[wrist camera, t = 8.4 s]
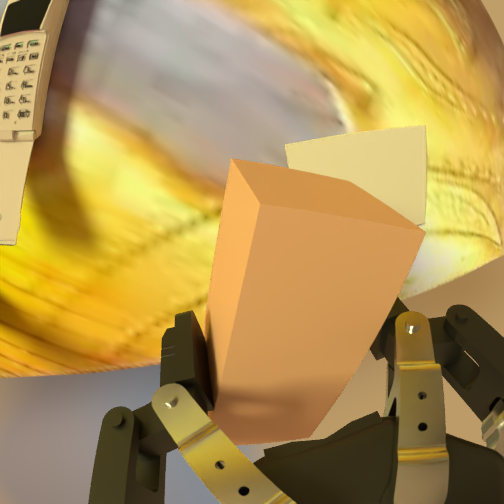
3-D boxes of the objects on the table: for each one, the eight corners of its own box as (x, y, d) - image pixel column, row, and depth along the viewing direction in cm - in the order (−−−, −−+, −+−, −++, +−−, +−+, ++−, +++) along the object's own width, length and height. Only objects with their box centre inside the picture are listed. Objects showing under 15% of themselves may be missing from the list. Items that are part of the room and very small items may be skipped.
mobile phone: (-33, 242, 16) (10, -57, 5) (-2, 214, 21) (37, -37, 10) (19, 250, 17) (75, -74, 7) (46, 219, 22) (94, -46, 12)
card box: (231, 158, 11) (260, 203, 6) (349, 181, 12) (426, 232, 8) (198, 366, 15) (206, 446, 11) (284, 365, 17) (309, 437, 12)
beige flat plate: (284, 144, 23) (285, 145, 23) (422, 125, 24) (425, 125, 24) (301, 257, 29) (303, 259, 29) (422, 221, 30) (424, 222, 30)
